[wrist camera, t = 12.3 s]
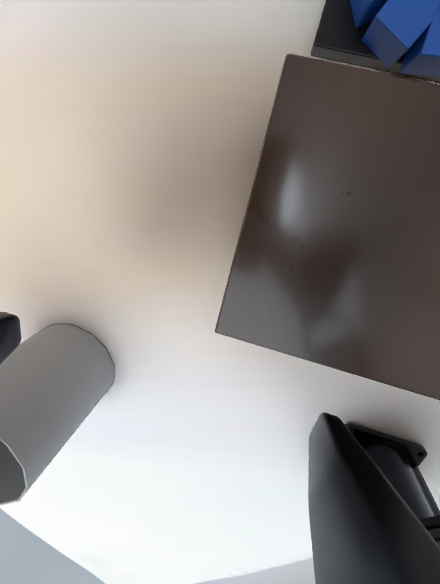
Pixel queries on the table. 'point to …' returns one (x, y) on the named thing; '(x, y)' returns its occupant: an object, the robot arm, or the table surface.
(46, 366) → the cup
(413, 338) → the box
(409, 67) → the ring
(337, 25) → the peg stand
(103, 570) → the table surface
